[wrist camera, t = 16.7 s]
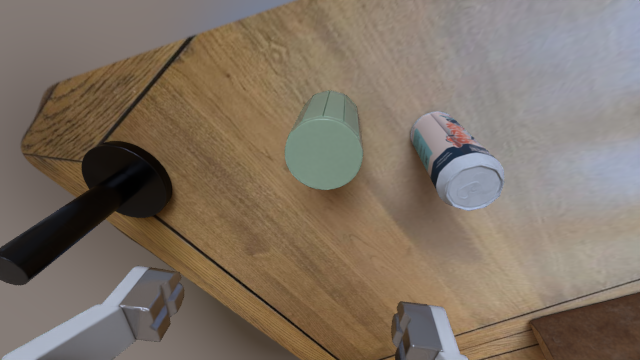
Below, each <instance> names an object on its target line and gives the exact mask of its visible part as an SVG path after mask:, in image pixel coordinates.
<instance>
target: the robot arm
mask: <svg viewBox="0 0 640 360" xmlns="http://www.w3.org/2000/svg"><path fill="white" fill-rule="evenodd" d="M180 280H181V275H180V272H177V271H170V270H163V269H157V268H152V267H145V266H136V267H135V268H133V269H132V270H131V271H130V272H129V273H128V275H127V276H126V277H125V278H124V279H123V280H122V281H121V283H120V284H119V285H118V286H117V287H116V288H115V290H114V291H113V292H112V293H111V294H110V295H109V297H108V298H107V299H106V300H105V301H104V302H103V303H102V305H101V304H97V305H95V306H93V307H91V308H89V309H88V310H86V311H84V312H82V313H81V314H79V315H77V316H75V317H73V318H71V319H70V320H68V321H66V322H64V323H62V324H61V325H59V326H57V327H55V328H53V329H51V330H50V331H48V332H46V333H44V334H42V335H41V336H39V337H37V338H35V339H33V340H32V341H30V342H28V343H26V344H24V345H23V346H21V347H19V348H17V349H15V350H13V351H12V352H10V353H8V354H6V355H5V356H4V357H3V358H2V359H1V360H113V359H114V358H115V357H116V356H118V355H119V354H120V353H121V352H123V351H124V350H125V349H126V348H128V347H129V346H130V345H131V344H133V343H134V342H135V341H136V340H145V341H154V342H160V341H161V339H162V338H163V336H164V334H165V333H166V331H167V329H168V327H169V326H170V317H171V316H172V315H174V314H175V313H177V312H178V310H179V308H180V306H181V304H182V301H183V298H184V287H183V285H182V284H181V283H180V282H179V281H180ZM397 311H398V313H396V314H395V315H394V316H393V319H392V326H391V333H392V342H393V343H394V345H395V346H396V347H397V350H396V352H395V355H394V356H395V360H469V359H468V358H467V357H466V356H465V355H461V354H460V352H459V349H458V346H457V343H456V340H455V337H454V334H453V332H452V329H451V326H450V323H449V320H448V317H447V314H446V311H445V309H444V308H443V307H440V306H432V305H427V304H419V303H411V302H402V301H400V302H399V303H398V306H397ZM135 339H136V340H135Z"/></svg>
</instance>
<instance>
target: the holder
mask: <svg viewBox="0 0 640 360" xmlns="http://www.w3.org/2000/svg"><path fill="white" fill-rule="evenodd" d="M82 174H83V177H84V180H85V182H86V184H87V186H88V188H89V190H88V191H86V192H85V193H83V194H82V195H80V196H79V197H77V198H76V199H74V200H73V201H71V202H70V203H68V204H66V205H65V206H63V207H62V208H60V209H59V210H57V211H56V212H54V213H53V214H51V215H50V216H48V217H47V218H45V219H43V220H42V221H40V222H39V223H37V224H36V225H34V226H33V227H31V228H30V229H28V230H27V231H25V232H24V233H22V234H20V235H19V236H17V237H16V238H14V239H13V240H11V241H10V242H8V243H7V244H5V245H4V246H2V247H1V248H0V280H2V281H4V282H6V283H9V284H13V285H24V284H26V283H27V282H29V281H30V280H31V279H33V278H34V277H35V276H36V275H37V274H39V273H40V272H41V271H42V270H44V269H45V268H46V267H47V266H48V265H50V264H51V263H52V262H53V261H55V260H56V259H57V258H58V257H59V256H60V255H62V254H63V253H64V252H66V251H67V250H68V249H69V248H71V246H73V245H74V244H75V243H77V242H78V241H79V240H80V239H81V238H83V237H84V236H85V235H86V234H88V233H89V232H90V231H91V230H93V229H94V228H95V227H96V226H97V225H98V224H100V223H101V222H102V221H103V220H105V219H106V218H107V217H108V216H110V215H111V214H112V213H113V212H115V211H116V212H118V213H121V214H123V215H126V216H130V217H136V218H145V217H150V216H153V215H155V214H157V213H159V212H160V211H161V210H162V209H163V208H164V207H165V206H166V205H167V204H168V202H169V201H170V198H171V195H172V185H171V181H170V178H169V176H168V174H167V172H166V170H165V169H164V167H163V166H162V165H161V164H160V162H159V161H158V160H157V159H156V158H155V157H153V156H152V155H151V154H150V153H148V152H147V151H145V150H144V149H142V148H140V147H138V146H135V145H133V144H130V143H126V142H121V141H110V142H105V143H103V144H101V145H99V146H97V147H95V148H93V149H91V150H89V151H88V152H87V153H86V155H85V156H84V158H83V161H82Z"/></svg>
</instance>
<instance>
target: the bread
mask: <svg viewBox="0 0 640 360" xmlns="http://www.w3.org/2000/svg"><path fill="white" fill-rule="evenodd" d="M530 324H531V327H532V330H533V332H534V335H535V337H536V339H537V341H538V343H539V345H540V347H541V350H542V352H543V354H544V356H545V358H546V360H640V293H637V294H633V295H629V296H625V297H621V298H617V299H613V300H610V301H606V302H602V303H598V304H594V305H590V306H586V307H582V308H578V309H573V310H569V311H565V312H561V313H557V314H553V315H549V316H546V317H542V318H539V319H535V320H532V321H531V322H530Z"/></svg>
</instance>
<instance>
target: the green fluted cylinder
mask: <svg viewBox="0 0 640 360" xmlns="http://www.w3.org/2000/svg"><path fill="white" fill-rule="evenodd" d="M362 157H363V146H362V136H361V127H360V119H359V114H358V110H357V106H356V105H355V104H354V103H353V102H352V100H351V99H350V98H349V97H348V96H347V95H345V94H343V93H339V92H335V91H332V90H330V91H329V90H328V91H324V92H321V93H317V94H315V95H313V96H312V97H311V98H310V100H309V101H308V102H307V103H306V104H305V105H304V107H303V109H302V111H301V112H300V114H299V116H298V118H297V120H296V122H295V124H294V126H293V128H292V130H291V132H290V133H289V135H288V140H287V142H286V146H285V160H286V163H287V166H288V168H289V170H290V172H291V173H292V174H293V176H294V177H295V178H296V179H297V180H298V181H300V182H301V183H303V184H304V185H306V186H308V187H311V188H314V189H319V190H330V189H335V188H339V187H341V186H343V185H345V184H347V183H348V182H350V181H351V180H352V179H353V178H354V177H355V176H356V174H357V173H358V171H359V169H360V167H361V163H362Z"/></svg>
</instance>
